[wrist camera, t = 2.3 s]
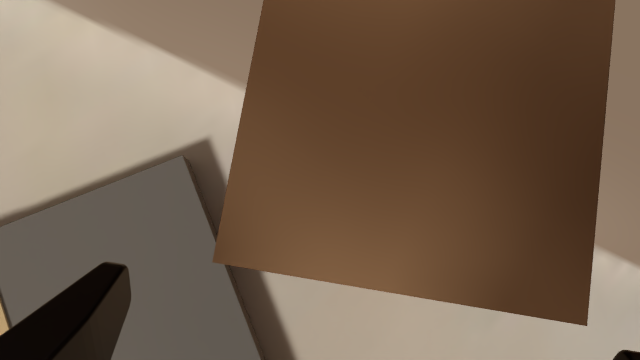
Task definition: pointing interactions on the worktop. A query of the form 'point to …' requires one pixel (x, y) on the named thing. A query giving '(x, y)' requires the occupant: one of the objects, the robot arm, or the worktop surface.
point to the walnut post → (425, 149)
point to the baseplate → (135, 266)
